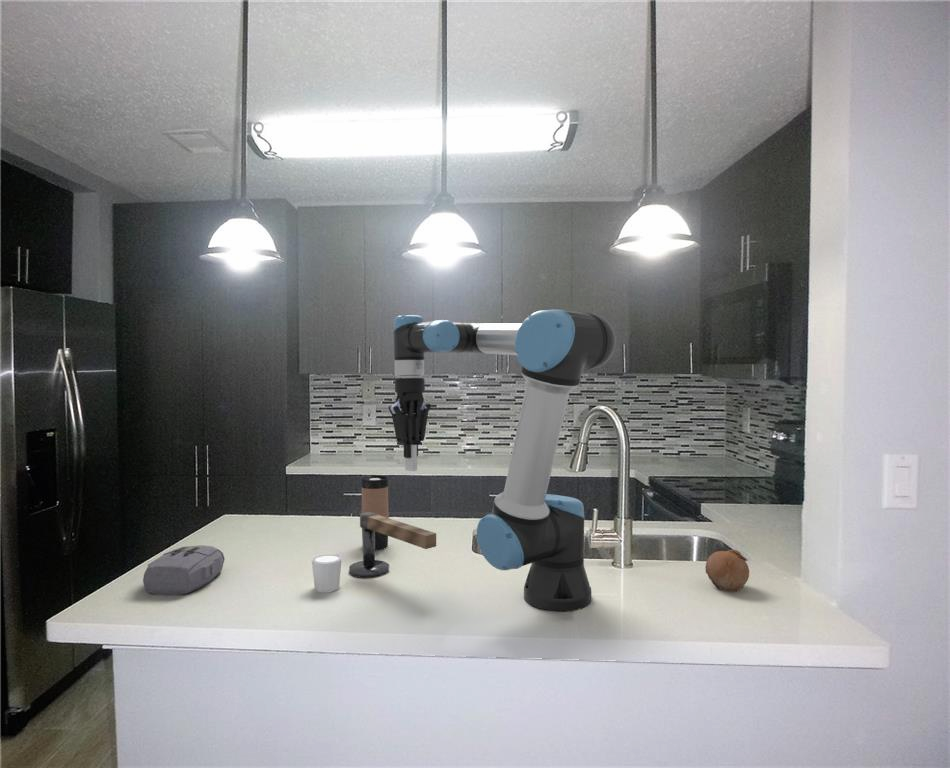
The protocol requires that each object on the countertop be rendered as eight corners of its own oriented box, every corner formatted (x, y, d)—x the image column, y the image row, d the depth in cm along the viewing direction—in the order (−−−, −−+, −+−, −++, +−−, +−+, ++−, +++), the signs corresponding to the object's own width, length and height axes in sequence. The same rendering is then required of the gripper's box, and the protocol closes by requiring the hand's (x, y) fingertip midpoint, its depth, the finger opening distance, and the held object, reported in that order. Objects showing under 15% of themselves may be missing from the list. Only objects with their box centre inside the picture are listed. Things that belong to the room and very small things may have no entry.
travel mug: (386, 550, 174) (385, 480, 173) (359, 550, 174) (358, 480, 173) (390, 543, 182) (390, 475, 181) (364, 542, 182) (364, 475, 181)
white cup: (305, 590, 144) (305, 560, 144) (325, 580, 150) (325, 552, 150) (328, 595, 141) (328, 565, 141) (348, 585, 147) (347, 556, 147)
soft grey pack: (196, 597, 140) (236, 568, 160) (195, 561, 140) (236, 536, 160) (132, 596, 141) (180, 566, 161) (131, 559, 141) (180, 535, 161)
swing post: (397, 570, 158) (396, 527, 157) (365, 580, 150) (365, 535, 150) (372, 561, 164) (372, 520, 164) (341, 571, 157) (340, 528, 157)
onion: (737, 597, 147) (754, 559, 148) (740, 601, 139) (758, 560, 140) (698, 578, 151) (715, 540, 152) (698, 580, 143) (716, 540, 143)
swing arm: (356, 526, 157) (356, 514, 157) (371, 522, 160) (371, 511, 160) (423, 549, 137) (423, 536, 137) (438, 545, 140) (438, 532, 140)
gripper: (401, 377, 149) (403, 475, 149) (438, 376, 159) (439, 468, 159) (380, 377, 153) (381, 472, 154) (417, 376, 163) (418, 465, 164)
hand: (411, 470), depth 157 cm, fingers closed
